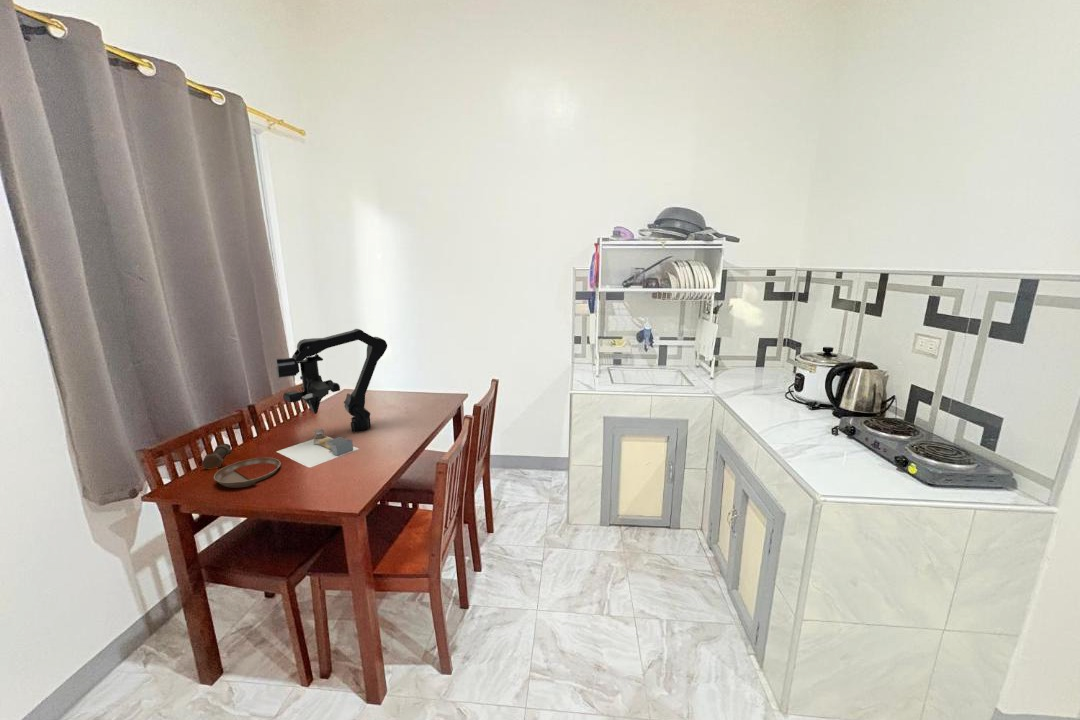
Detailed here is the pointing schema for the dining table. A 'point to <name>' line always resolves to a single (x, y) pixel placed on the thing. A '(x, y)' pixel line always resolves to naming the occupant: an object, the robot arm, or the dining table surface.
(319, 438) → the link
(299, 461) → the base plate
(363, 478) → the dining table surface
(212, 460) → the bolt
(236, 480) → the plant saucer
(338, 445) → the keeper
